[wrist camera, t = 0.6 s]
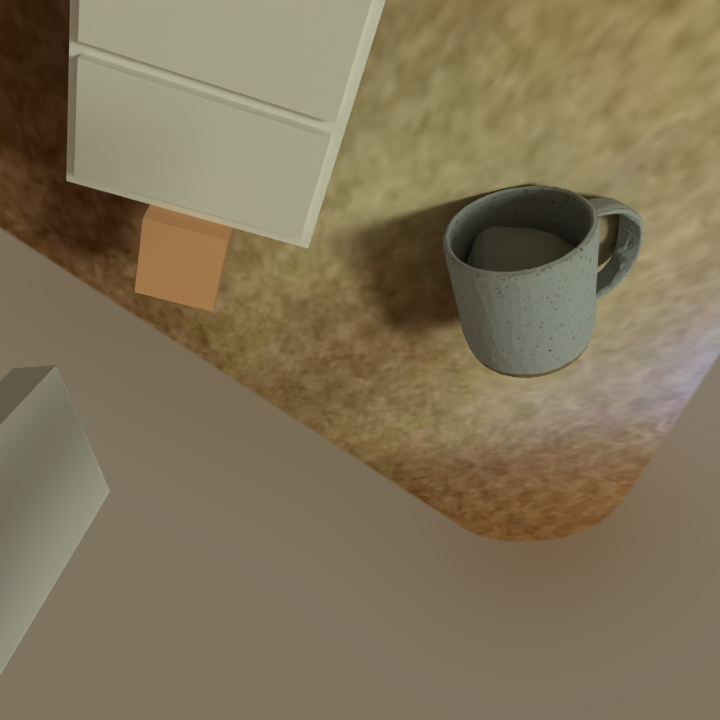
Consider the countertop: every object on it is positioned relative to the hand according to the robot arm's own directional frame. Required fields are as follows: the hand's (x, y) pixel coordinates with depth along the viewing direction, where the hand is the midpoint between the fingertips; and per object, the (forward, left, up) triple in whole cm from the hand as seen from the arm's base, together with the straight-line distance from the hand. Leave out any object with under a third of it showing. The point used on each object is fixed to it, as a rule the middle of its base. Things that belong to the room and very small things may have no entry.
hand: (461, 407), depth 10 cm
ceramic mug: (+9, +11, -25) cm, 29 cm away
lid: (+5, -7, -19) cm, 21 cm away
